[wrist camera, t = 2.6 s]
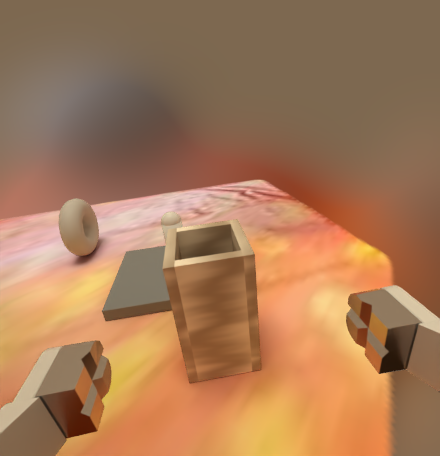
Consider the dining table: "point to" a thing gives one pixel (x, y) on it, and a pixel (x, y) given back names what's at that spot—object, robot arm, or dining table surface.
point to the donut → (78, 227)
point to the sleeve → (213, 298)
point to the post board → (141, 280)
